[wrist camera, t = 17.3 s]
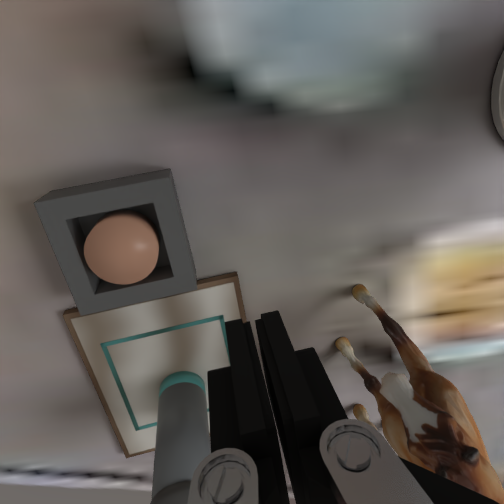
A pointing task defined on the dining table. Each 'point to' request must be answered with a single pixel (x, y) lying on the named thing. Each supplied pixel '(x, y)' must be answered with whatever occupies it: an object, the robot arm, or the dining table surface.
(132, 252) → the button
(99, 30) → the dining table surface
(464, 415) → the horse figurine
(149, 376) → the board
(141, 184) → the button base
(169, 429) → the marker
